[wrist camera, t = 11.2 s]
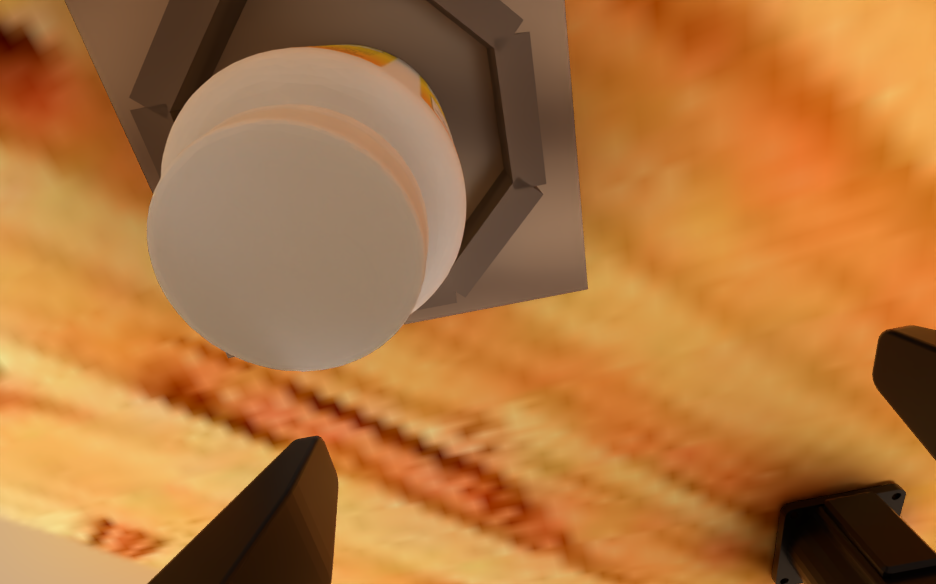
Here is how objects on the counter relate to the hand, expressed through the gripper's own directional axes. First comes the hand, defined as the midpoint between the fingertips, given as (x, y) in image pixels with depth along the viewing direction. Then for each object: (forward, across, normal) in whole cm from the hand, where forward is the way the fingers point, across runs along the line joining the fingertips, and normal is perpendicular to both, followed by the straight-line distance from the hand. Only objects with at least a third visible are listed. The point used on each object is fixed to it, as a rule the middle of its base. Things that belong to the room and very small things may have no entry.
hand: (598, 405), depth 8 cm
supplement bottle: (+11, +4, -4) cm, 12 cm away
